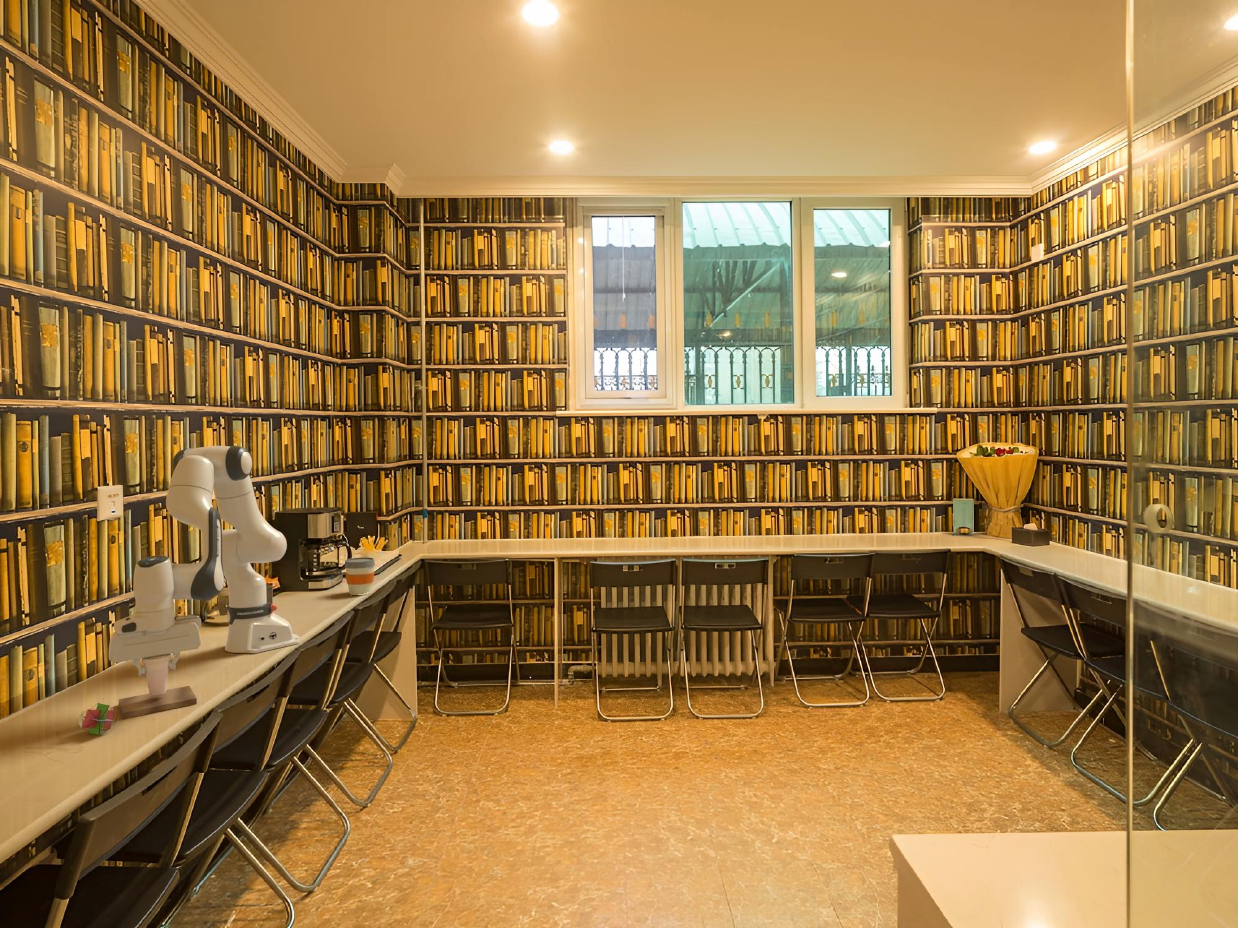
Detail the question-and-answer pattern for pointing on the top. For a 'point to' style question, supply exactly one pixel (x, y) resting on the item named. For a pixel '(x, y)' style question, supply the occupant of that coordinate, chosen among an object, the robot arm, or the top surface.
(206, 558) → the robot arm
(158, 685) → the smoothie
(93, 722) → the geometric puzzle
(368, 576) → the reusable coffee cup
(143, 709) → the serving board
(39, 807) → the top surface
